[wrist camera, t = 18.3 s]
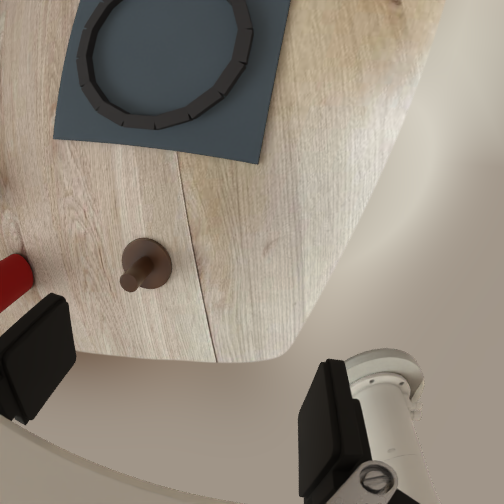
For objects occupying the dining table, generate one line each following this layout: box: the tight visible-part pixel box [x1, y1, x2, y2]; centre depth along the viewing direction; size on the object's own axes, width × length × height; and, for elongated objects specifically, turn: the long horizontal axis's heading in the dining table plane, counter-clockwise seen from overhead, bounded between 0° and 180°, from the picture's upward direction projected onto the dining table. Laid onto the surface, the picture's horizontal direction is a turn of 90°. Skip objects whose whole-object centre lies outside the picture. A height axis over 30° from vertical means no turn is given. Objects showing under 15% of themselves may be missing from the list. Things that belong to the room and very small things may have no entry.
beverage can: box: [0, 254, 33, 313], centre depth 38 cm, size 7×7×12 cm
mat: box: [53, 0, 291, 164], centre depth 31 cm, size 28×26×1 cm
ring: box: [76, 0, 254, 130], centre depth 30 cm, size 22×22×2 cm
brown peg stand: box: [120, 238, 172, 292], centre depth 38 cm, size 7×7×6 cm
